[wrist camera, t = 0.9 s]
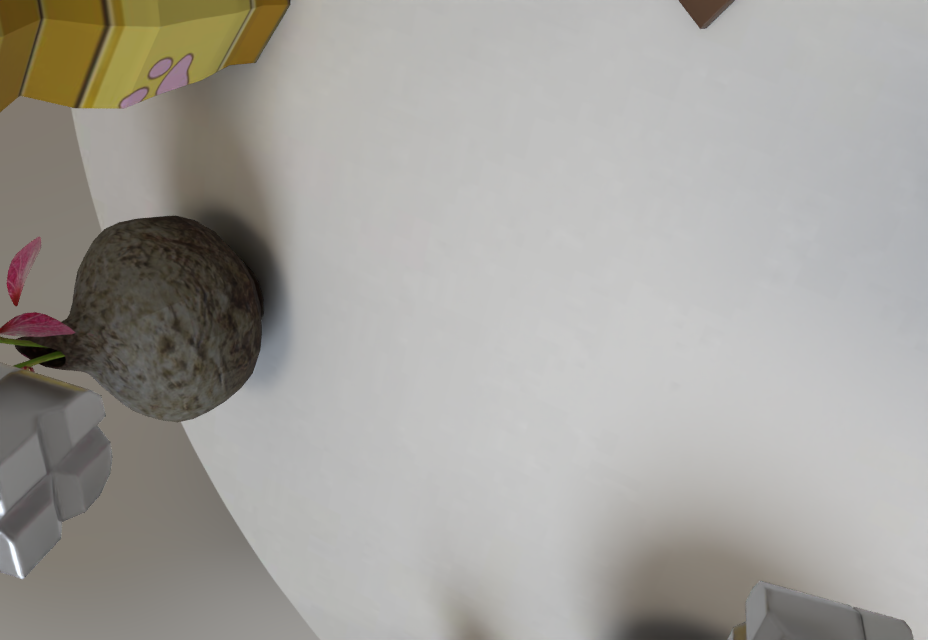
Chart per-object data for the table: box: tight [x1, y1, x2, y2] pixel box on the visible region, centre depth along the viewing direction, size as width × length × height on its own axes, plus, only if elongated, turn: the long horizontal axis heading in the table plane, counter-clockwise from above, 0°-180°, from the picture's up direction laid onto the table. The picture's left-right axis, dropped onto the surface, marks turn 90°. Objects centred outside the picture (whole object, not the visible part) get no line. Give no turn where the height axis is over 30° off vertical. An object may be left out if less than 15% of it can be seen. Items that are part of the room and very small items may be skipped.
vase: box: [0, 216, 263, 422], centre depth 61 cm, size 17×18×30 cm
